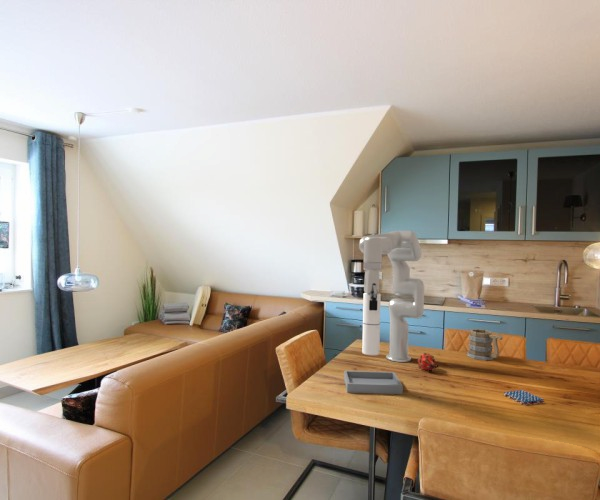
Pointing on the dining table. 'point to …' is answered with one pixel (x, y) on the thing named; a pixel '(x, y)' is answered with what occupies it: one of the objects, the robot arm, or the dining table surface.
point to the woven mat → (523, 397)
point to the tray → (372, 382)
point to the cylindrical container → (371, 326)
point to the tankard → (483, 344)
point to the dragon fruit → (427, 362)
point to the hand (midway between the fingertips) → (371, 308)
